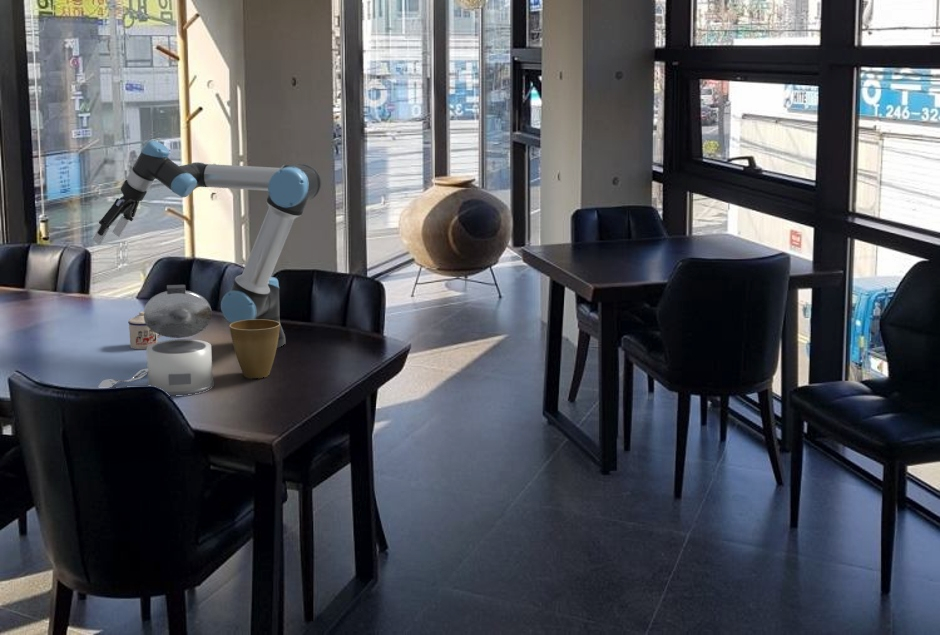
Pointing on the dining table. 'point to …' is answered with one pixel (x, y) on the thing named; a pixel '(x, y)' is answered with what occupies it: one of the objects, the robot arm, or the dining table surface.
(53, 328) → the dining table surface
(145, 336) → the teacup with lid
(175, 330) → the lid
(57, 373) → the dining table surface
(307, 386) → the dining table surface
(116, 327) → the dining table surface
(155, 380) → the cooker pot
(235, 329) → the plant pot
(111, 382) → the stirrer
